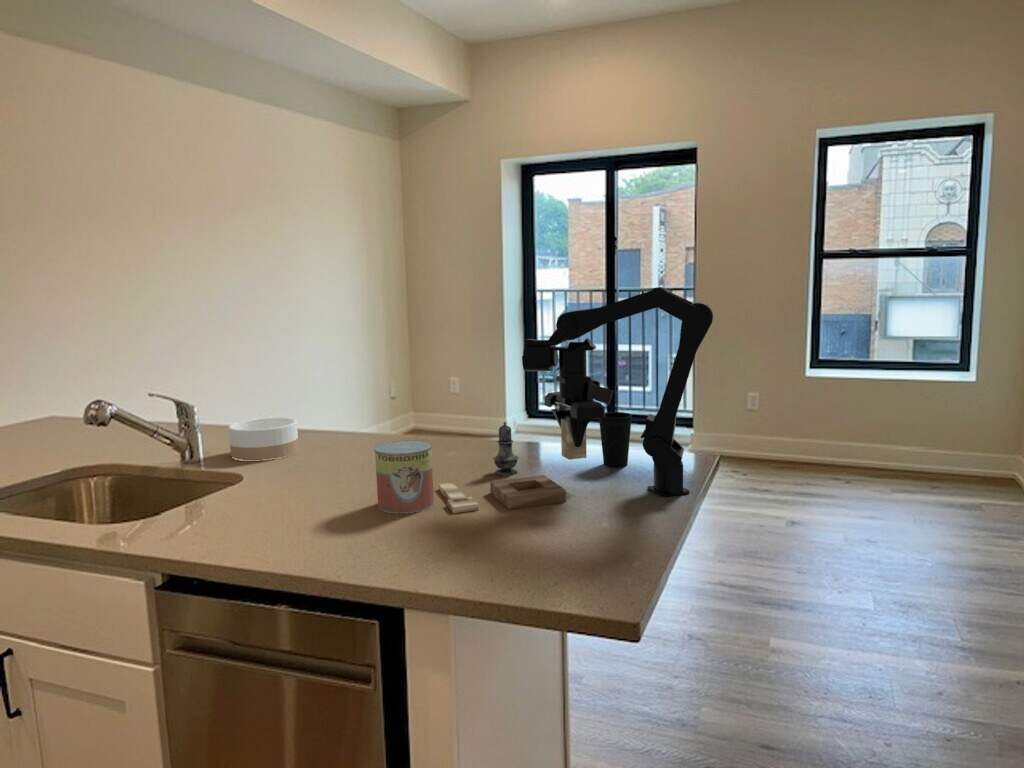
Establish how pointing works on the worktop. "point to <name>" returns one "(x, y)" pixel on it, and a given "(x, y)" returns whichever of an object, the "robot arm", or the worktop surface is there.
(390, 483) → the canned food
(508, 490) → the socket block
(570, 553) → the worktop surface
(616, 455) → the cup
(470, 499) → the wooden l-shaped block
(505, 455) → the salt shaker
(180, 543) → the worktop surface
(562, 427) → the wooden pin
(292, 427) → the bowl
